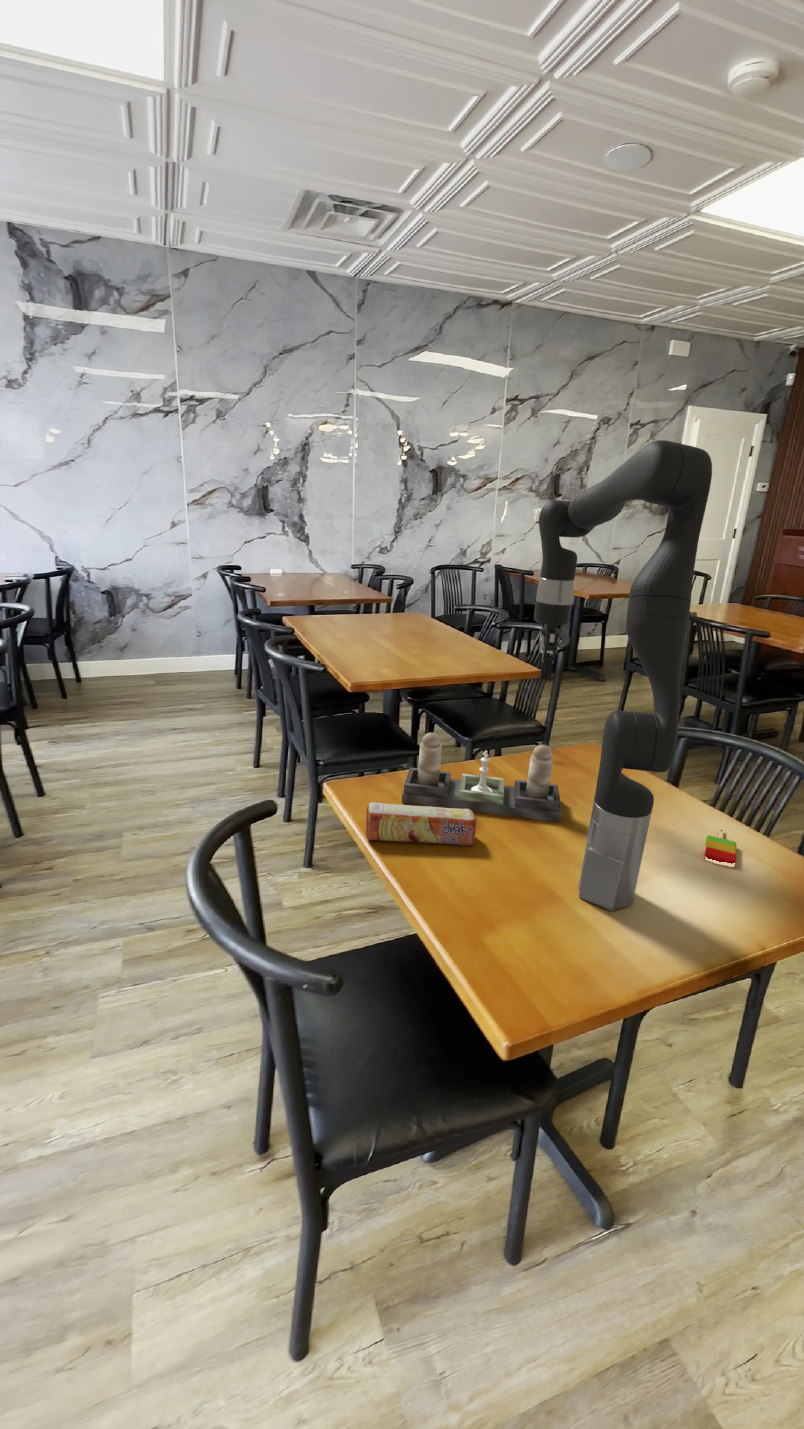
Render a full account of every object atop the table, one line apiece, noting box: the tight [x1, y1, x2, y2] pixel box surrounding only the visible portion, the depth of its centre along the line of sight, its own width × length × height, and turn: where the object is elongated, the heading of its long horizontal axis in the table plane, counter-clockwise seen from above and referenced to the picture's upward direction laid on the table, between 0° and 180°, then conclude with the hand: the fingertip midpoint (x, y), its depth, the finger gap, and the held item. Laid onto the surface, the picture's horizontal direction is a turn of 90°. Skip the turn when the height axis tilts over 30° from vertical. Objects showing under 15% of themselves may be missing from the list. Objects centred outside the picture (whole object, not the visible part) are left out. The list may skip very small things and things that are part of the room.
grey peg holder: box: [401, 732, 562, 823], centre depth 142 cm, size 34×11×15 cm, turn 82°
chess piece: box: [471, 750, 493, 793], centre depth 142 cm, size 5×5×10 cm
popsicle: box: [704, 834, 737, 864], centre depth 131 cm, size 6×15×2 cm, turn 154°
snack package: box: [365, 801, 477, 847], centre depth 127 cm, size 21×7×7 cm, turn 90°
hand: (544, 674), depth 143 cm, fingers open, 8 cm apart
